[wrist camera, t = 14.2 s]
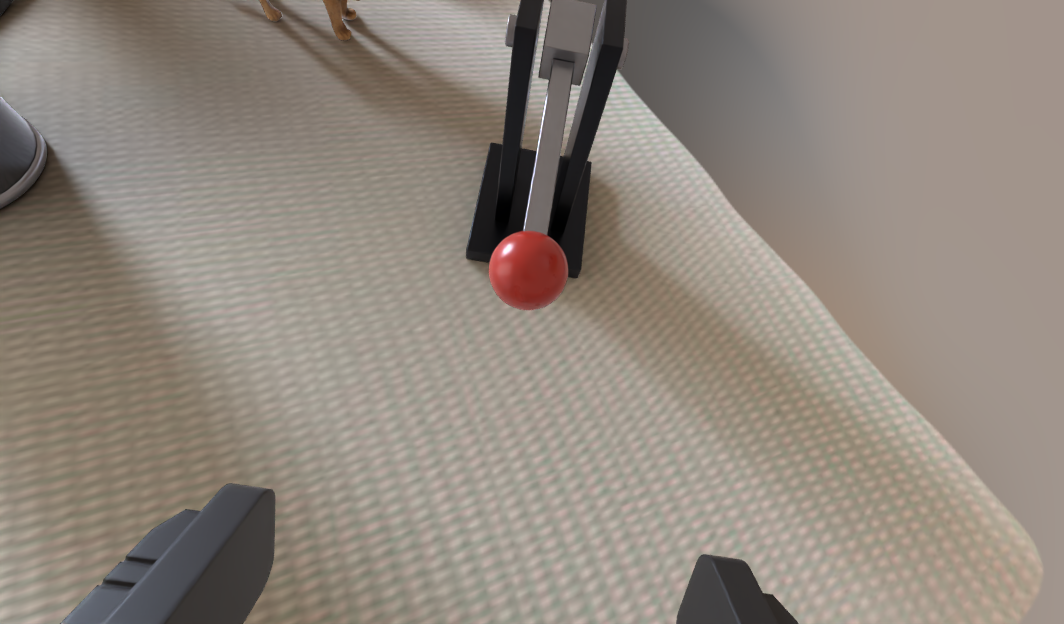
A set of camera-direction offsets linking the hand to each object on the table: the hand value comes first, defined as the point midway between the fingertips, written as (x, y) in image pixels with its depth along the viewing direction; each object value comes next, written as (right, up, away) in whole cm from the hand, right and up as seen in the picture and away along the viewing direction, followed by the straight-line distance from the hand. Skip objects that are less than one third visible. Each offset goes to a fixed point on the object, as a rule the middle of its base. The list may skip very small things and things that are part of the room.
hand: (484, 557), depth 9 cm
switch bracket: (+1, +12, +28) cm, 31 cm away
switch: (+2, +12, +16) cm, 20 cm away
